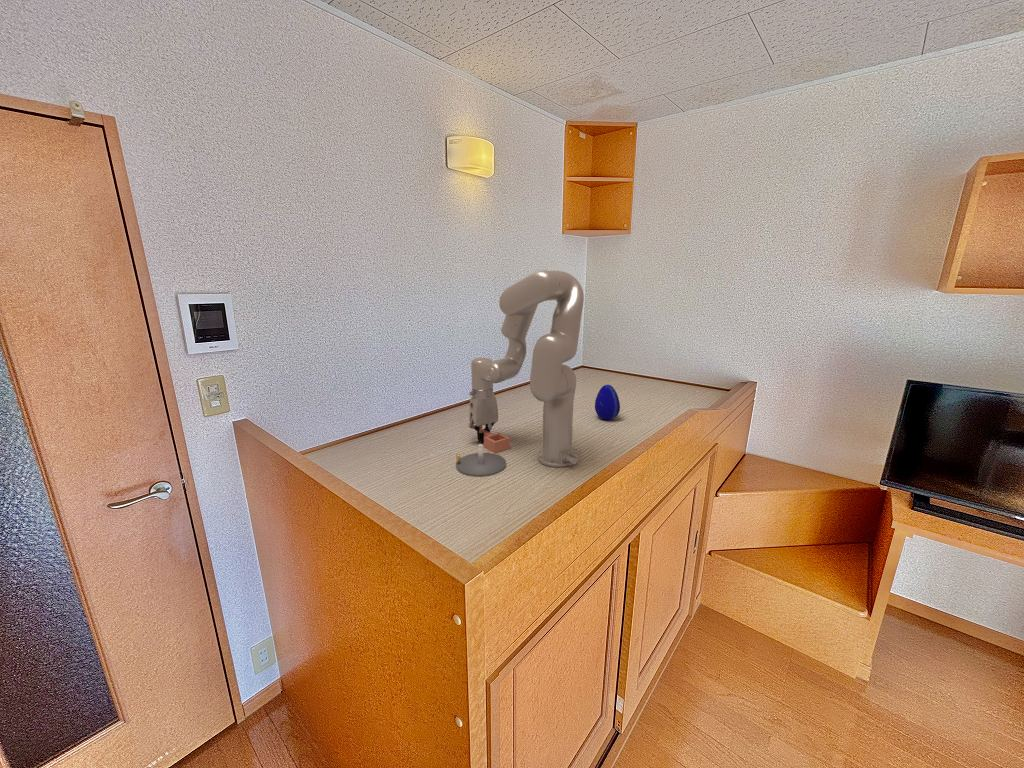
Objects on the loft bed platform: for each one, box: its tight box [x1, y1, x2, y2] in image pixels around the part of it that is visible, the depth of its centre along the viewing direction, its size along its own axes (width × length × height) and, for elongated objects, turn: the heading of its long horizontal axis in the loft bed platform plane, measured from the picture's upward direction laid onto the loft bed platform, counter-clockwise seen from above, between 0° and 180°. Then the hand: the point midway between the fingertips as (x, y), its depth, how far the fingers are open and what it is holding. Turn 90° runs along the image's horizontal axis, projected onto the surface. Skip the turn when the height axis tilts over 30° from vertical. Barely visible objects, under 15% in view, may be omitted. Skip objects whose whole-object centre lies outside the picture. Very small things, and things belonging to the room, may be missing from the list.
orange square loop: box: [482, 428, 511, 454], centre depth 147 cm, size 14×7×4 cm, turn 38°
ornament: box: [594, 384, 621, 420], centre depth 173 cm, size 11×9×15 cm
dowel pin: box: [455, 453, 461, 464], centre depth 131 cm, size 1×1×3 cm
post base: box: [455, 443, 507, 478], centre depth 131 cm, size 16×16×7 cm
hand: (484, 440), depth 151 cm, fingers closed on orange square loop, 2 cm apart
